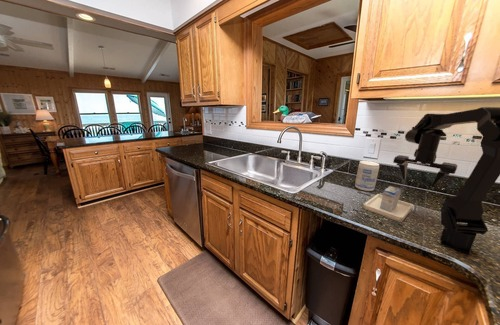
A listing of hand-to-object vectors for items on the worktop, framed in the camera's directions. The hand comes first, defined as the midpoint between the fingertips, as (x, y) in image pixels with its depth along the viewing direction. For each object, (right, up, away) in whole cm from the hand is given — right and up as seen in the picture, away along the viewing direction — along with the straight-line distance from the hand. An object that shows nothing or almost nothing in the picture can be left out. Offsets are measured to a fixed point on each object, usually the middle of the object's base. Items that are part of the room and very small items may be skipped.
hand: (417, 183), depth 80 cm
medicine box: (-8, -11, +5) cm, 15 cm away
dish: (-9, -12, +6) cm, 16 cm away
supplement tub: (-6, -6, +28) cm, 29 cm away
